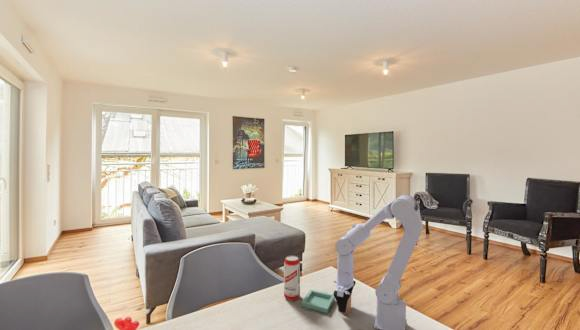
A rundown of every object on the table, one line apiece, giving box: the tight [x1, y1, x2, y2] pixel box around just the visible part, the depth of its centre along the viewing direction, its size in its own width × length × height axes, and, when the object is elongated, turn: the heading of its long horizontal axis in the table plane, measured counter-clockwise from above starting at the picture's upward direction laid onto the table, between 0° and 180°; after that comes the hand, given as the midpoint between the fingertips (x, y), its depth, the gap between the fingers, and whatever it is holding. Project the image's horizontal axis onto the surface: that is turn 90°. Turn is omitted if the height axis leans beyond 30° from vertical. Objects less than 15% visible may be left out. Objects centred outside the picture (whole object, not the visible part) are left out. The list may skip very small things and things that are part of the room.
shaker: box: [337, 291, 352, 315], centre depth 101 cm, size 5×5×6 cm
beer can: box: [283, 254, 301, 302], centre depth 109 cm, size 6×6×16 cm
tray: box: [300, 289, 336, 315], centre depth 105 cm, size 10×10×2 cm
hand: (344, 305), depth 101 cm, fingers open, 7 cm apart
